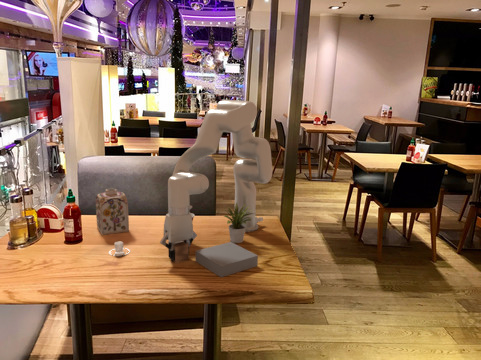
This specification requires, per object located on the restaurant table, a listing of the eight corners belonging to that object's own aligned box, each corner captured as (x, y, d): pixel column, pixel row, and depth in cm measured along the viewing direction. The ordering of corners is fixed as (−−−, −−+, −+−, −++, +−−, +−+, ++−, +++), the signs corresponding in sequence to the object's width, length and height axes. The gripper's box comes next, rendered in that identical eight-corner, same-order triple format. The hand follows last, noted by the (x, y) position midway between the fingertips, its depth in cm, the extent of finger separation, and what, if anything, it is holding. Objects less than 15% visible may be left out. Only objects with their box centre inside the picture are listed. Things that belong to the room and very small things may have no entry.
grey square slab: (230, 251, 158) (230, 241, 157) (257, 266, 145) (257, 255, 144) (195, 261, 148) (195, 250, 147) (220, 277, 136) (221, 266, 135)
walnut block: (181, 255, 153) (181, 240, 151) (188, 259, 149) (188, 244, 148) (169, 258, 150) (169, 242, 148) (176, 263, 146) (176, 247, 145)
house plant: (240, 251, 158) (241, 210, 155) (212, 243, 166) (212, 204, 162) (259, 240, 170) (260, 203, 166) (232, 233, 177) (233, 197, 174)
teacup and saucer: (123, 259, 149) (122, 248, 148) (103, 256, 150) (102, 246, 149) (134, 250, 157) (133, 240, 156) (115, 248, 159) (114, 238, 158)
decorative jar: (96, 227, 180) (94, 187, 177) (123, 223, 186) (121, 185, 182) (101, 235, 170) (99, 194, 166) (129, 231, 176) (128, 191, 172)
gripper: (193, 204, 153) (193, 249, 157) (152, 211, 143) (153, 259, 147) (204, 209, 148) (204, 255, 151) (162, 216, 137) (162, 266, 141)
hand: (178, 257), depth 149 cm, fingers closed on walnut block, 5 cm apart
